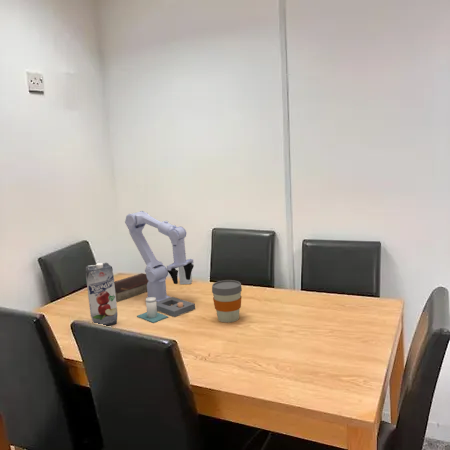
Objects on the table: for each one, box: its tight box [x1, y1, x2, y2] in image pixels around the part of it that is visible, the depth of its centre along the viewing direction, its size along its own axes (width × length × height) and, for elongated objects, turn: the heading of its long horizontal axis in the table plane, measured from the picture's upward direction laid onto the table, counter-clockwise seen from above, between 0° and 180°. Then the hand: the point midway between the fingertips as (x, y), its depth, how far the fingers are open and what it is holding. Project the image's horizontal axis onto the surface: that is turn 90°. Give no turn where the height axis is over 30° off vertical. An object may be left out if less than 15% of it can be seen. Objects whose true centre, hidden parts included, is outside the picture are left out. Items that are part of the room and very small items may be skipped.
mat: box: [136, 311, 169, 324], centre depth 205 cm, size 12×8×1 cm, turn 46°
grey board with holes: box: [156, 296, 196, 318], centre depth 213 cm, size 16×12×2 cm
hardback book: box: [114, 272, 148, 303], centre depth 244 cm, size 29×19×5 cm, turn 138°
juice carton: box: [85, 262, 118, 326], centre depth 198 cm, size 9×10×27 cm
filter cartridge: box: [145, 296, 158, 318], centre depth 204 cm, size 4×4×8 cm
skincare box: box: [178, 266, 193, 285], centre depth 250 cm, size 6×4×12 cm
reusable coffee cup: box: [211, 279, 243, 323], centre depth 197 cm, size 13×13×15 cm
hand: (181, 281), depth 219 cm, fingers open, 7 cm apart
